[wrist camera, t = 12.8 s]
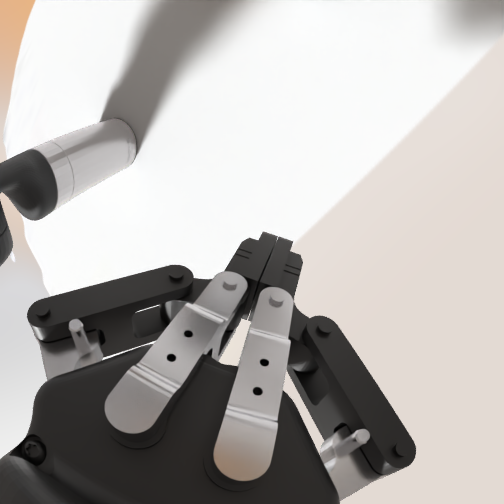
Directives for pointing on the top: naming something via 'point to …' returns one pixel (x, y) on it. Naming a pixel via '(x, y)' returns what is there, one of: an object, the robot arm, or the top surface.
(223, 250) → the top surface
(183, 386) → the robot arm
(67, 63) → the top surface
